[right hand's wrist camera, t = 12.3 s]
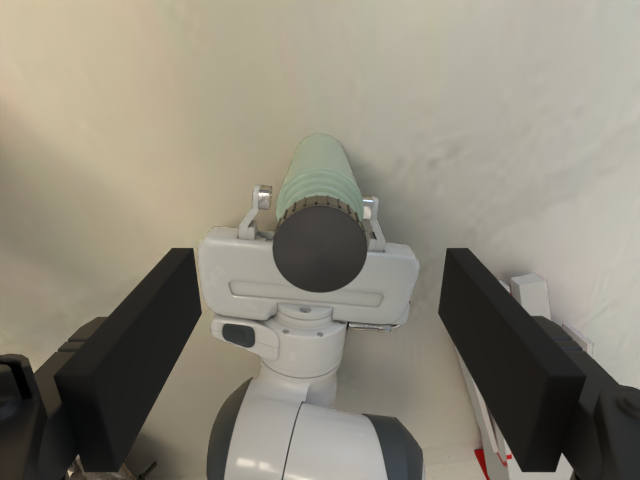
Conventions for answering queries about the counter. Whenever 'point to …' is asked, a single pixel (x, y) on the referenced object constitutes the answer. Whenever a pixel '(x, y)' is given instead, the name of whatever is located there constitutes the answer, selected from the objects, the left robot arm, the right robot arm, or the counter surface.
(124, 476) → the fossil
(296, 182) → the bottle
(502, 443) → the toy
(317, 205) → the cap
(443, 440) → the counter surface
